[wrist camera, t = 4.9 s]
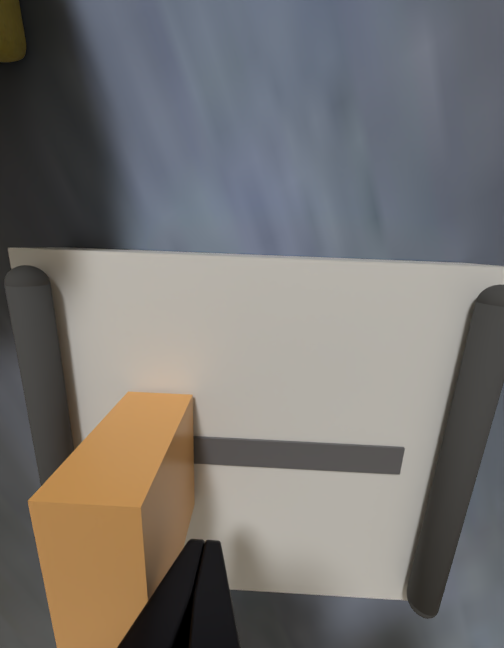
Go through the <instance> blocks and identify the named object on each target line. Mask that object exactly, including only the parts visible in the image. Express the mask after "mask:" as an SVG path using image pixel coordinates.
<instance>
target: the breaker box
mask: <svg viewBox="0 0 504 648" xmlns="http://www.w3.org/2000/svg"><path fill="white" fill-rule="evenodd" d="M8 253H9V259H10V265H11V269H13V268H15V267H17V266H21V265H30V266H34V267H37V268H39V269H41V270H42V271H44V272H45V273H46V274H47V276H48V277H49V279H50V282H51V288H52V296H53V303H54V310H55V317H56V324H57V331H58V338H59V345H60V352H61V359H62V366H63V373H64V381H65V388H66V395H67V402H68V409H69V416H70V423H71V430H72V437H73V444H74V450H75V449H76V448H77V447H78V446H79V445H80V444H81V442H82V441H83V440H84V439H85V438H86V437H87V436H88V435H89V434H90V433H91V432H92V430H93V429H94V428H95V427H96V426H97V425H98V424H99V423H100V422H101V421H102V419H103V418H104V417H105V416H106V415H107V414H108V413H109V412H110V411H111V410H112V409H113V407H114V406H115V405H116V404H117V403H118V402H119V401H120V400H121V399H122V398H123V397H124V395H125V394H126V393H127V392H128V391H129V392H149V393H170V394H190V395H193V438H194V496H195V505H194V509H193V512H192V516H191V520H190V524H189V528H188V532H187V536H186V540H185V543H184V546H185V545H186V543H187V542H188V541H189V540H190V539H203V540H204V541H206V540H219V541H220V542H221V546H222V551H223V556H224V561H225V567H226V572H227V577H228V583H229V588H230V589H231V590H247V591H263V592H279V593H296V594H312V595H328V596H344V597H360V598H376V599H392V600H408V599H407V586H408V582H409V578H410V574H411V570H412V565H413V561H414V557H415V553H416V549H417V545H418V540H419V536H420V532H421V528H422V524H423V519H424V515H425V511H426V507H427V503H428V499H429V494H430V490H431V486H432V482H433V478H434V473H435V469H436V465H437V461H438V457H439V453H440V448H441V444H442V440H443V436H444V432H445V427H446V423H447V419H448V415H449V411H450V407H451V402H452V398H453V394H454V390H455V386H456V381H457V377H458V373H459V369H460V365H461V361H462V356H463V352H464V348H465V344H466V340H467V335H468V331H469V327H470V323H471V319H472V315H473V310H474V306H475V302H476V299H477V297H478V295H479V294H480V293H481V292H482V291H483V290H485V289H486V288H488V287H490V286H494V285H500V284H501V285H504V266H495V265H483V264H471V263H454V262H428V261H403V260H377V259H352V258H326V257H301V256H275V255H249V254H224V253H198V252H173V251H147V250H122V249H96V248H71V247H35V248H8ZM183 548H184V547H183Z"/></svg>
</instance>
